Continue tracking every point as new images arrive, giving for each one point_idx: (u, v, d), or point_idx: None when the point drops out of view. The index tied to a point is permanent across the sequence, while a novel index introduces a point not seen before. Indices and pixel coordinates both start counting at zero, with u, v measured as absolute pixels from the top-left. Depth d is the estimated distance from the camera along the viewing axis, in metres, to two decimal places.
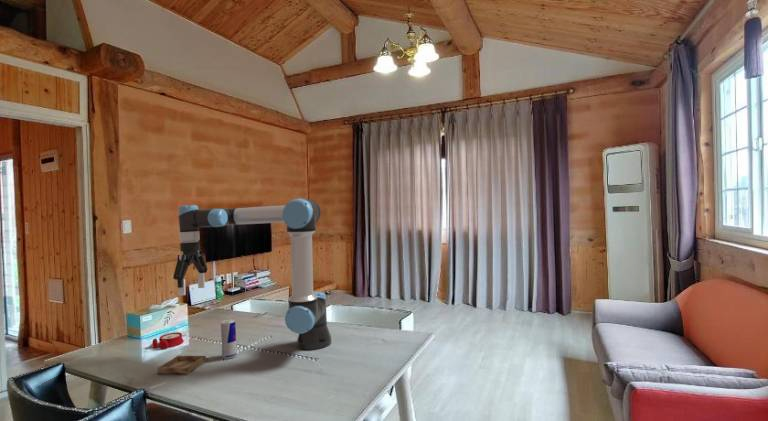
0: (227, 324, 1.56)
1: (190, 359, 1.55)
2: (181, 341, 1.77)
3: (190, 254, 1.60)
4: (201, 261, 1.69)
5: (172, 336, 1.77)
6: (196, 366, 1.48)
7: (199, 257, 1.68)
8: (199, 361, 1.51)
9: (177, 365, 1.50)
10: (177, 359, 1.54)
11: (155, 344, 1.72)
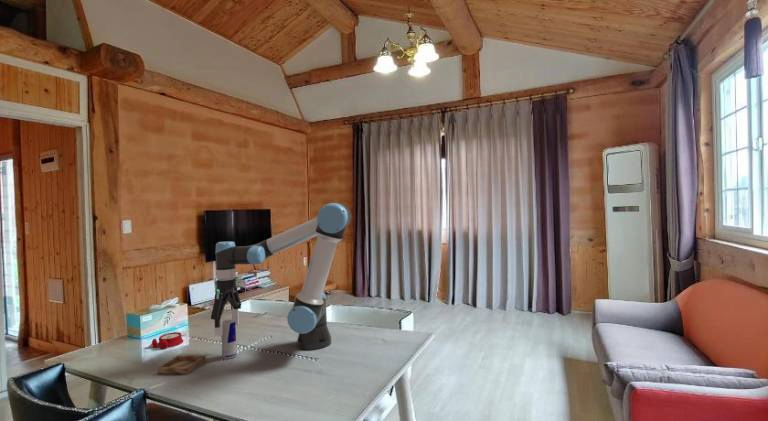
0: (227, 324, 1.56)
1: (190, 359, 1.55)
2: (181, 341, 1.77)
3: (226, 292, 1.57)
4: (235, 297, 1.65)
5: (172, 336, 1.77)
6: (196, 366, 1.48)
7: (234, 293, 1.65)
8: (199, 361, 1.51)
9: (177, 365, 1.50)
10: (177, 359, 1.54)
11: (155, 344, 1.72)
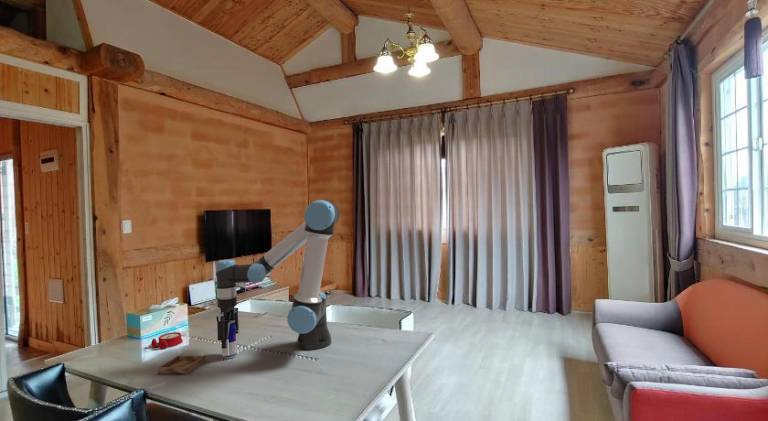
0: None
1: (190, 359, 1.55)
2: (180, 341, 1.77)
3: (227, 309, 1.57)
4: (235, 319, 1.64)
5: (171, 336, 1.78)
6: (196, 366, 1.48)
7: (234, 314, 1.64)
8: (199, 361, 1.51)
9: (177, 365, 1.50)
10: (177, 359, 1.54)
11: (154, 344, 1.72)
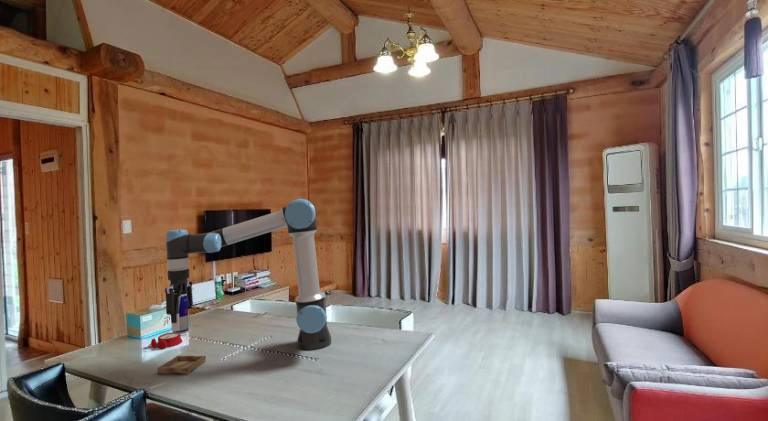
0: None
1: (190, 359, 1.55)
2: (180, 341, 1.78)
3: (178, 282, 1.47)
4: (188, 293, 1.54)
5: (171, 336, 1.78)
6: (196, 366, 1.48)
7: (187, 288, 1.54)
8: (199, 361, 1.51)
9: (177, 365, 1.50)
10: (177, 359, 1.54)
11: (154, 344, 1.72)
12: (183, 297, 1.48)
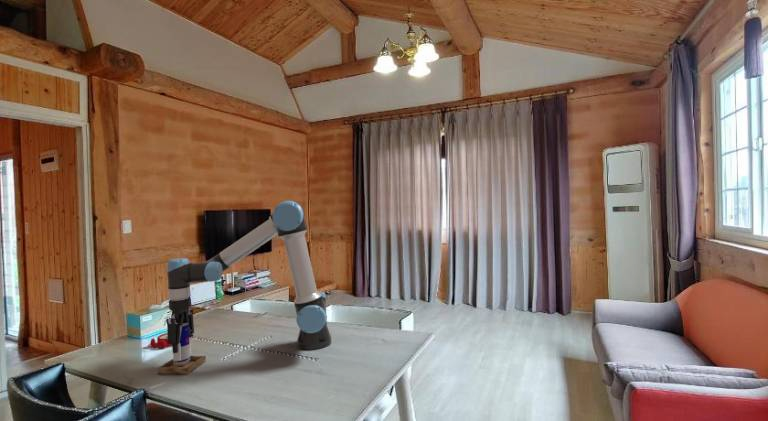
0: None
1: (190, 359, 1.55)
2: None
3: (179, 311, 1.47)
4: (189, 321, 1.54)
5: None
6: (196, 366, 1.48)
7: (188, 316, 1.54)
8: (199, 361, 1.51)
9: (177, 365, 1.50)
10: None
11: (153, 344, 1.72)
12: (184, 326, 1.48)
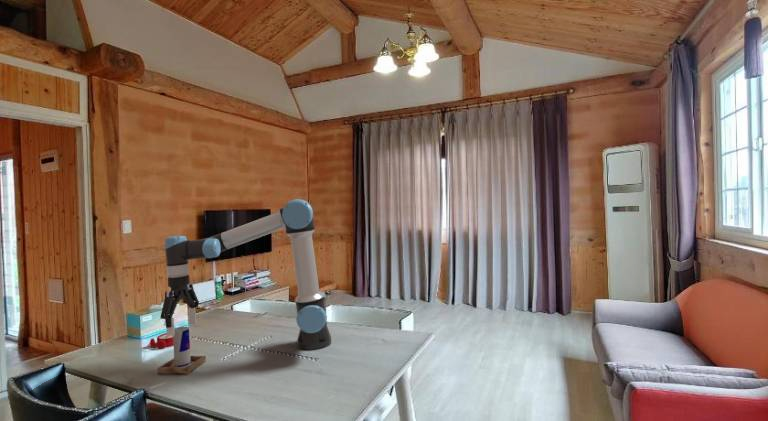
0: (179, 332, 1.46)
1: None
2: None
3: (179, 289, 1.47)
4: (192, 295, 1.56)
5: (170, 336, 1.78)
6: (196, 366, 1.48)
7: (189, 291, 1.55)
8: (199, 361, 1.51)
9: None
10: None
11: (153, 344, 1.72)
12: (185, 331, 1.48)
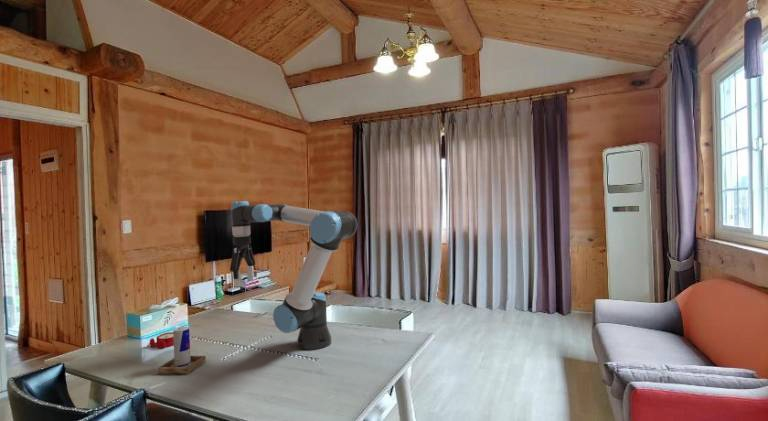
0: (179, 331, 1.47)
1: None
2: None
3: (243, 247, 1.68)
4: (250, 255, 1.77)
5: (169, 336, 1.78)
6: (196, 366, 1.48)
7: (248, 251, 1.76)
8: (199, 361, 1.51)
9: None
10: None
11: (152, 344, 1.72)
12: (185, 331, 1.48)
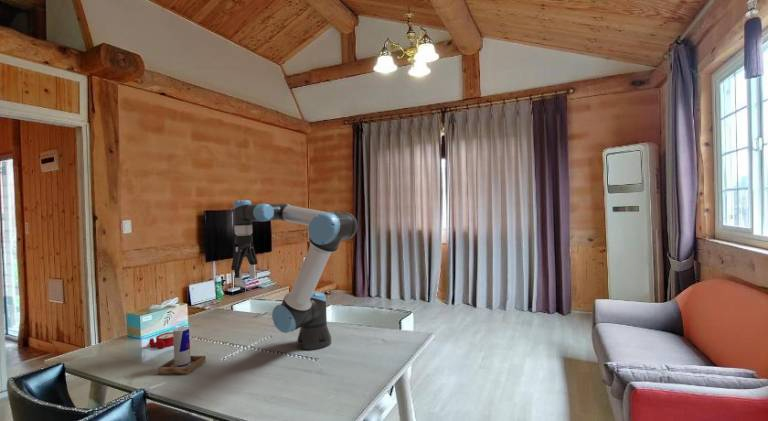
0: (179, 332, 1.47)
1: None
2: None
3: (244, 246, 1.69)
4: (252, 253, 1.78)
5: (169, 336, 1.78)
6: (196, 366, 1.48)
7: (250, 249, 1.77)
8: (199, 361, 1.51)
9: None
10: None
11: (152, 344, 1.73)
12: (185, 331, 1.48)
